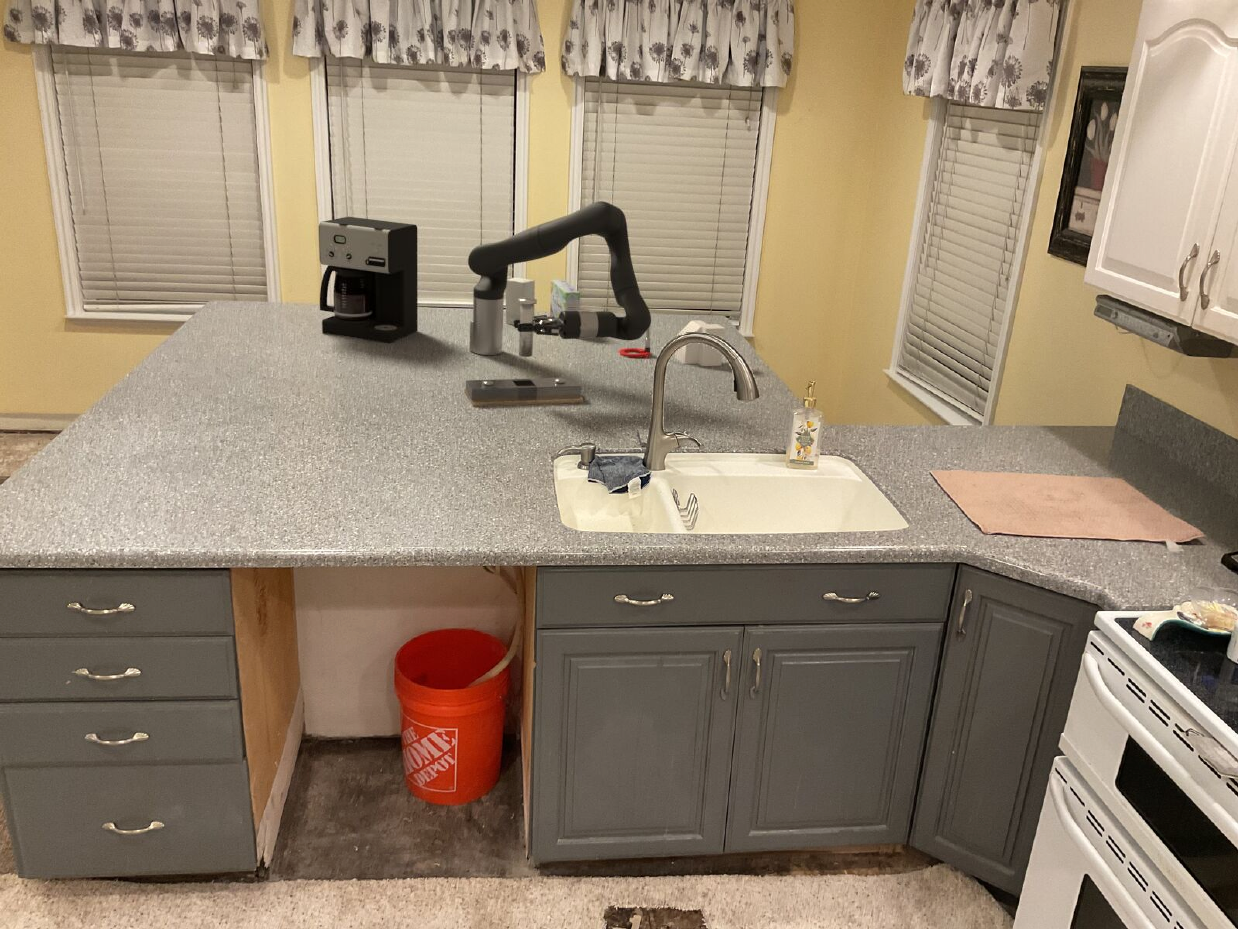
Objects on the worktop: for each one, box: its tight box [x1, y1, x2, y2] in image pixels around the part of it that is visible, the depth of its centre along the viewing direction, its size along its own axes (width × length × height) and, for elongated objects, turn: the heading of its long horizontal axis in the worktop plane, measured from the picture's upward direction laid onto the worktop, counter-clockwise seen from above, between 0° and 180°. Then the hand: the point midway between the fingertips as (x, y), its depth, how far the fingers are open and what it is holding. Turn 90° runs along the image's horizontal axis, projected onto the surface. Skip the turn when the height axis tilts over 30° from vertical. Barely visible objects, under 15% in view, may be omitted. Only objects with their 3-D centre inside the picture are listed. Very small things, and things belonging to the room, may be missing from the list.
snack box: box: [549, 279, 581, 318], centre depth 348 cm, size 21×6×15 cm, turn 17°
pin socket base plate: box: [463, 376, 584, 407], centre depth 274 cm, size 30×12×5 cm, turn 109°
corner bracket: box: [674, 319, 726, 367], centre depth 320 cm, size 11×11×12 cm
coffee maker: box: [318, 216, 419, 344], centre depth 322 cm, size 28×20×35 cm
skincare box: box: [505, 276, 536, 326], centre depth 349 cm, size 8×7×16 cm
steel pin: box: [518, 298, 537, 358], centre depth 268 cm, size 5×5×15 cm
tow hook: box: [619, 326, 651, 359], centre depth 323 cm, size 9×14×10 cm
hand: (516, 325), depth 266 cm, fingers closed on steel pin, 3 cm apart
